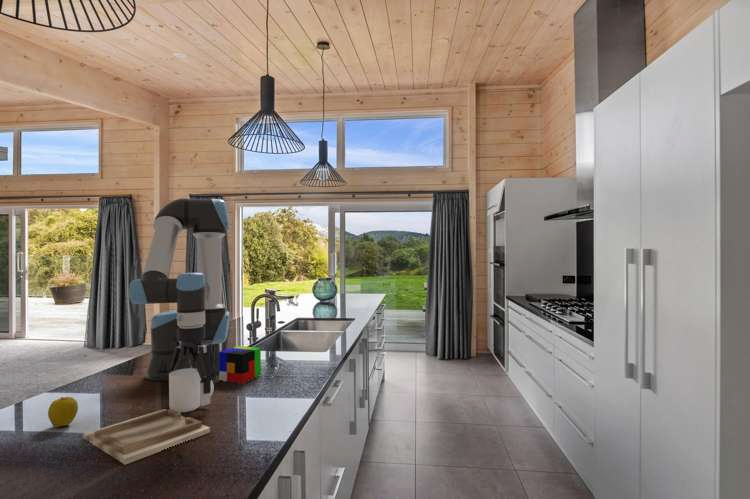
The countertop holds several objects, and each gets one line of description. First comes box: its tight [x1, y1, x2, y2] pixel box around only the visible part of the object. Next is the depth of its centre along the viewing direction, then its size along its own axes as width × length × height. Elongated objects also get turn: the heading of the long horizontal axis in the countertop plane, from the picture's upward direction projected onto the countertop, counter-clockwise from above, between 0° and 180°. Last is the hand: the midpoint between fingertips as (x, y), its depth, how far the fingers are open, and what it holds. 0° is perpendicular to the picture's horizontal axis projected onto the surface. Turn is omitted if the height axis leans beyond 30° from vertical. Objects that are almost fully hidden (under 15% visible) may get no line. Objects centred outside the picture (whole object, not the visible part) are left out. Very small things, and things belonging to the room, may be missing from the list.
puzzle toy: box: [218, 345, 262, 384], centre depth 155 cm, size 10×10×10 cm
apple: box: [47, 396, 79, 428], centre depth 114 cm, size 6×6×8 cm
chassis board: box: [83, 408, 211, 465], centre depth 108 cm, size 22×20×2 cm
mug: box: [168, 367, 215, 414], centre depth 127 cm, size 12×8×10 cm
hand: (191, 400), depth 126 cm, fingers open, 13 cm apart
